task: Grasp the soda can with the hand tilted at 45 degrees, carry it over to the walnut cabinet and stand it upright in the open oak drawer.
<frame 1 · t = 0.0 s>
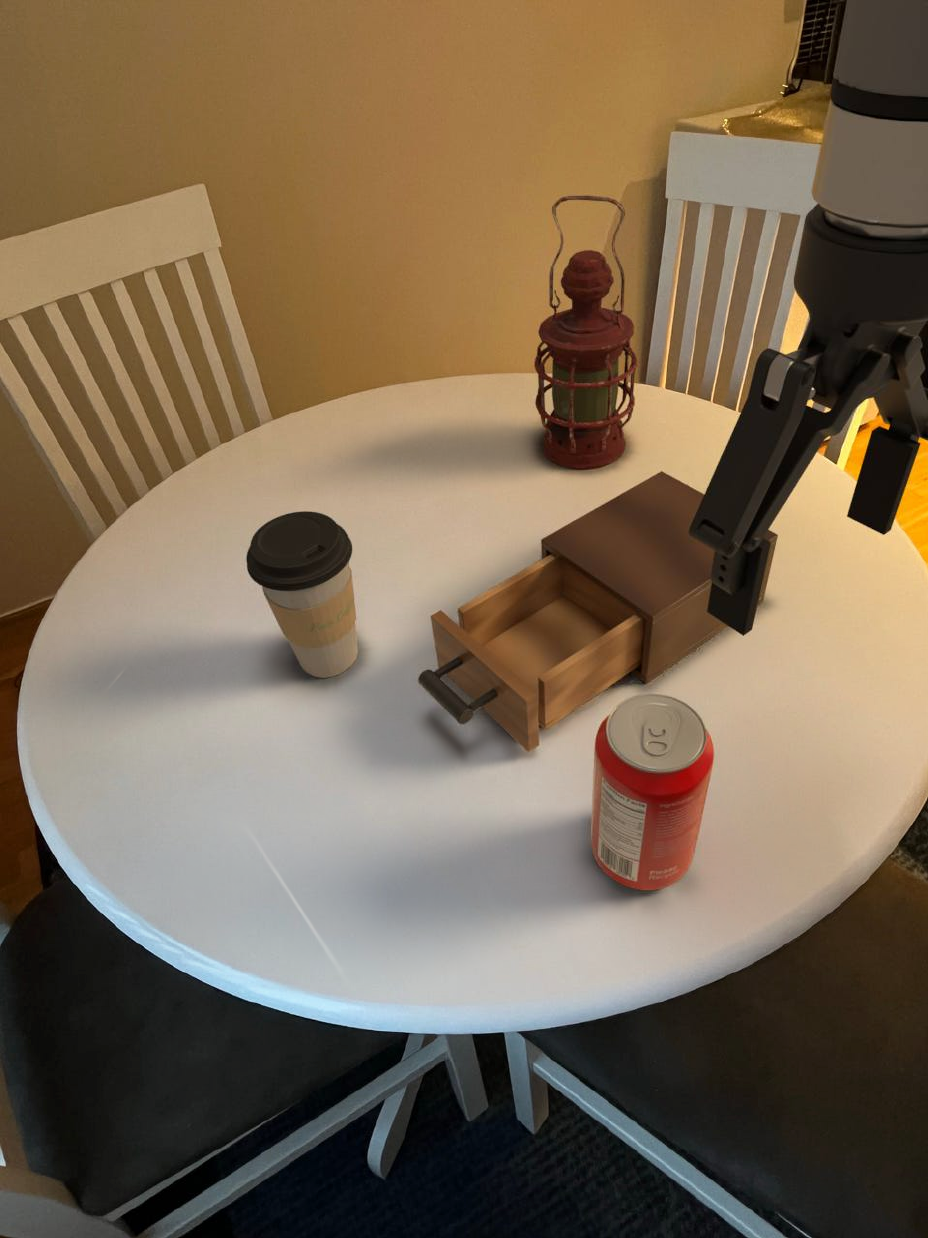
hand: (802, 570, 52), 24 cm above the table, tool pointing down, fingers open, 13 cm apart
coffee cup: (328, 657, 83), on the table
lantern: (583, 447, 106), on the table
soda can: (640, 851, 65), on the table
cabinet: (651, 603, 85), on the table
drawer: (526, 651, 75), point 4 cm above the table, slide at 12.5 cm
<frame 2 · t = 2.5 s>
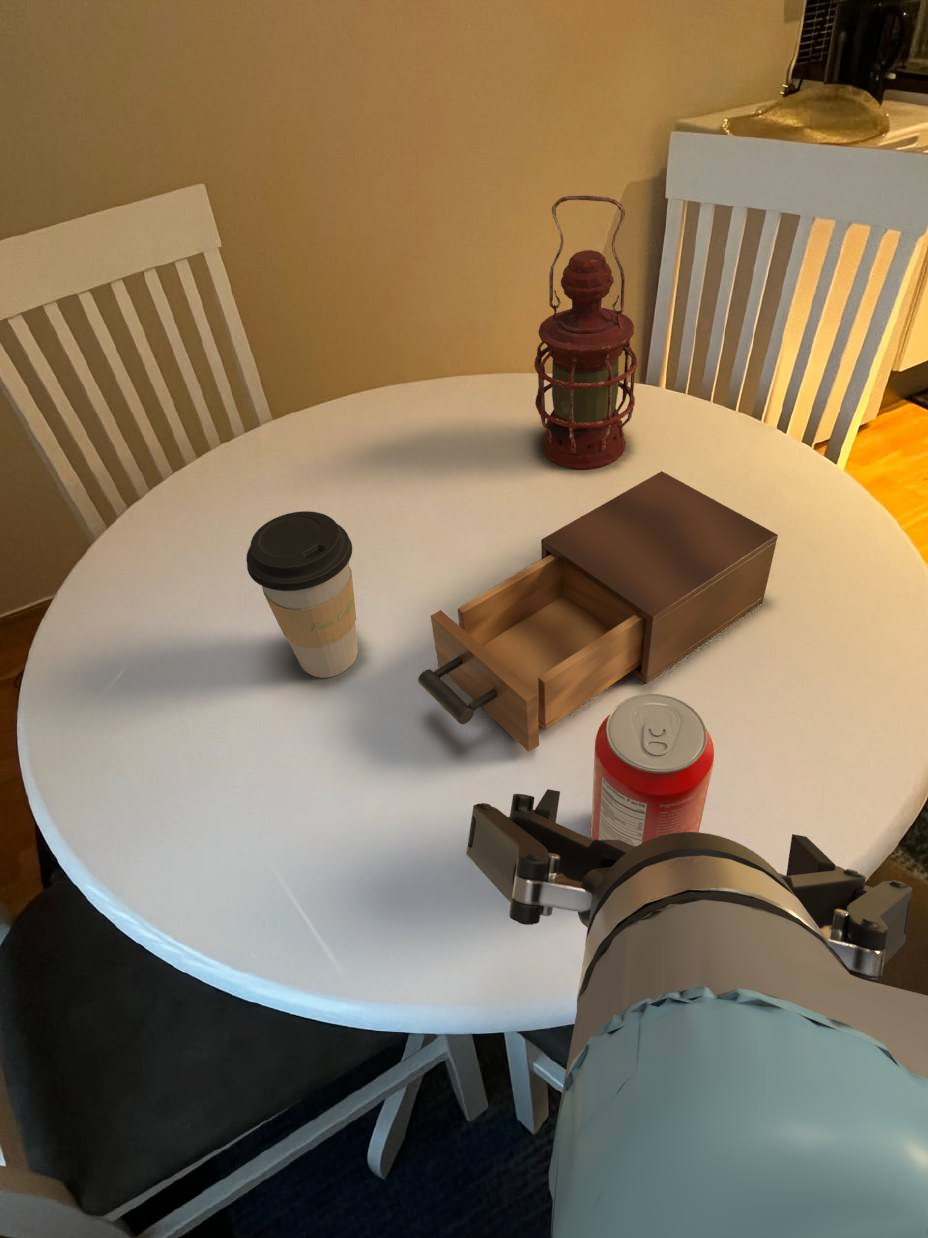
hand: (669, 835, 47), 17 cm above the table, tool tilted 45°, fingers open, 13 cm apart
nothing on the table moved.
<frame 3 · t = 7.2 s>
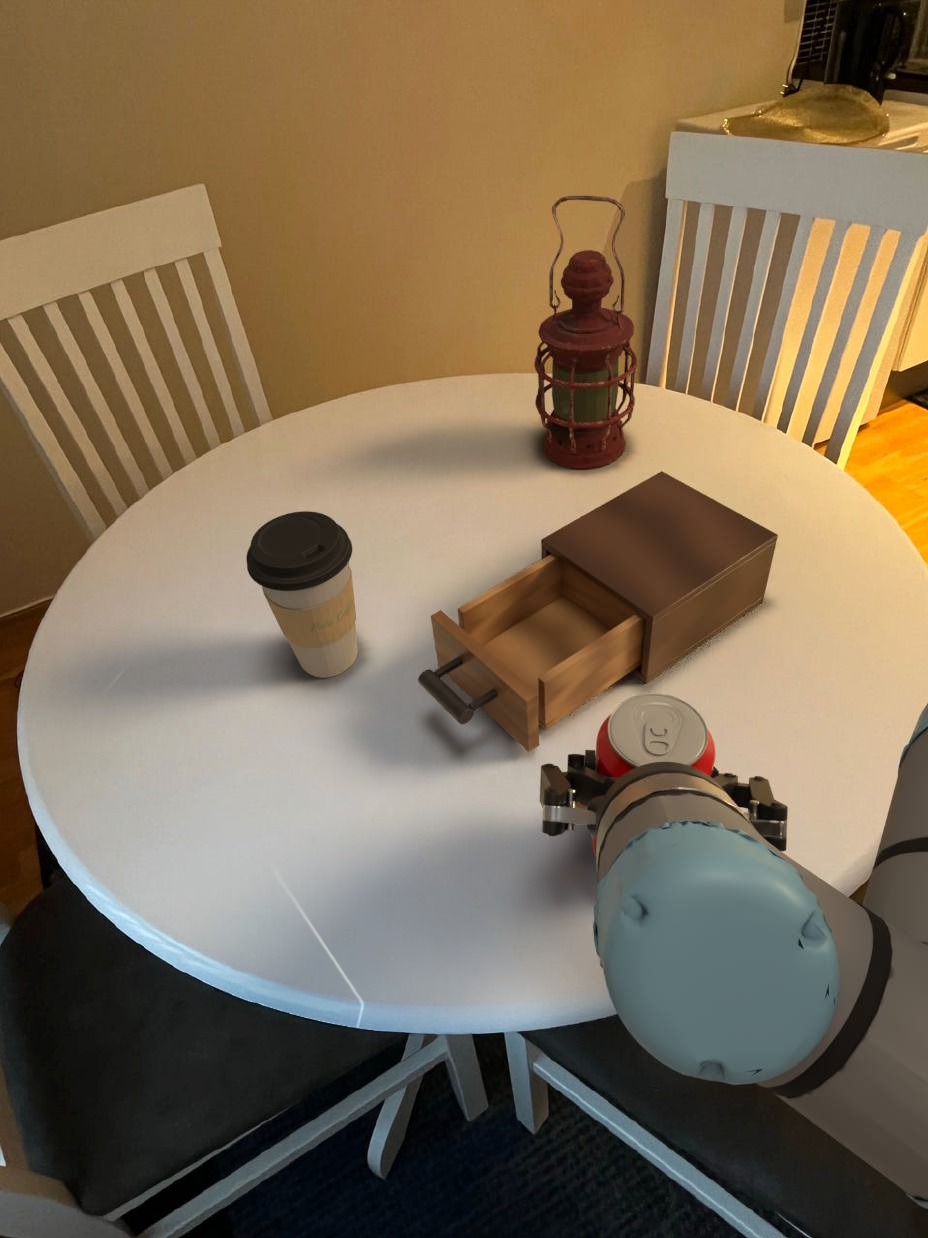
hand: (644, 771, 64), 6 cm above the table, tool tilted 45°, fingers closed on soda can, 8 cm apart
soda can: (641, 850, 65), on the table, touching gripper
everything else where it was.
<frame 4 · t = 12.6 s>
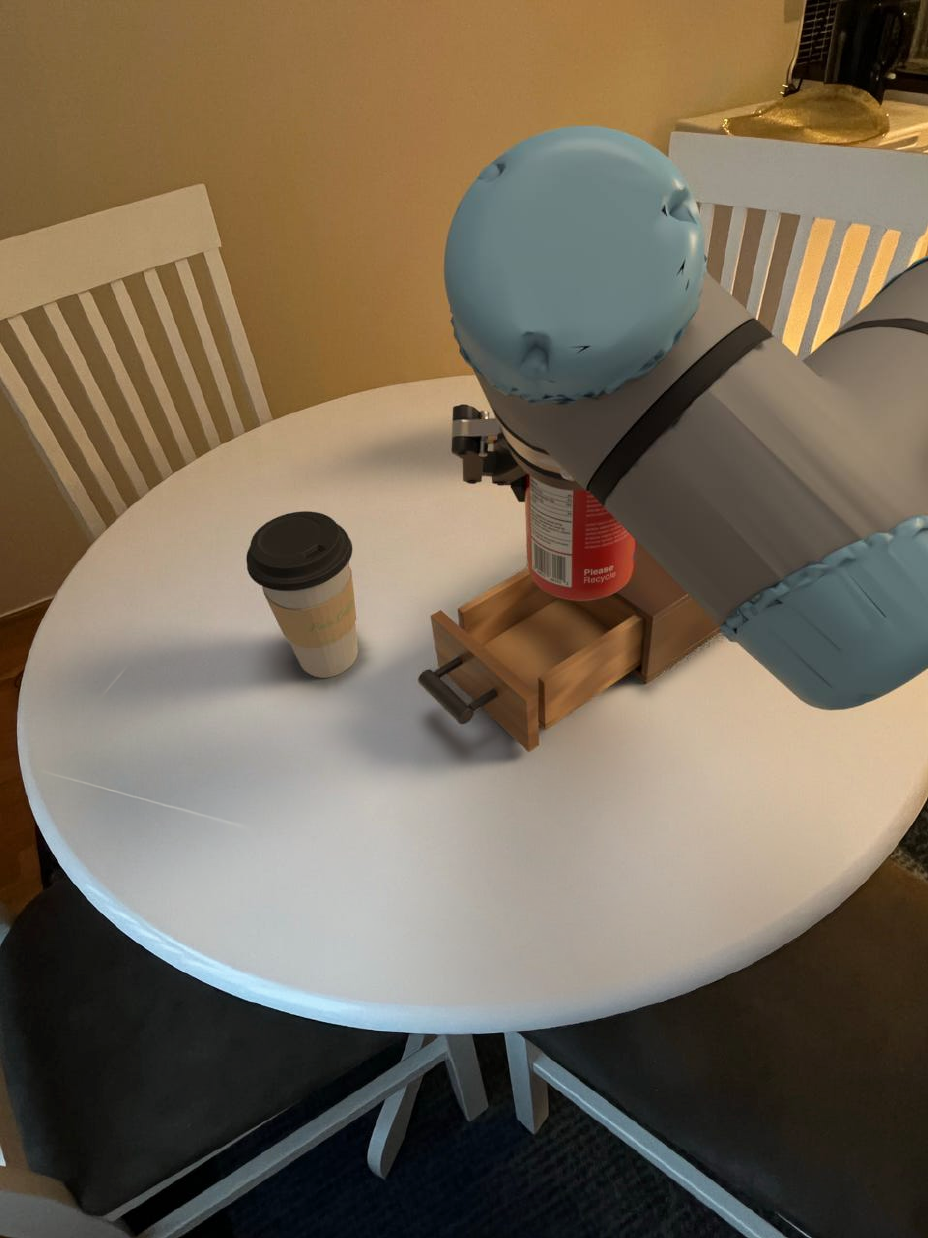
hand: (581, 484, 60), 24 cm above the table, tool tilted 45°, fingers closed on soda can, 8 cm apart
soda can: (580, 575, 62), point 18 cm above the table, touching gripper
everything else where it was.
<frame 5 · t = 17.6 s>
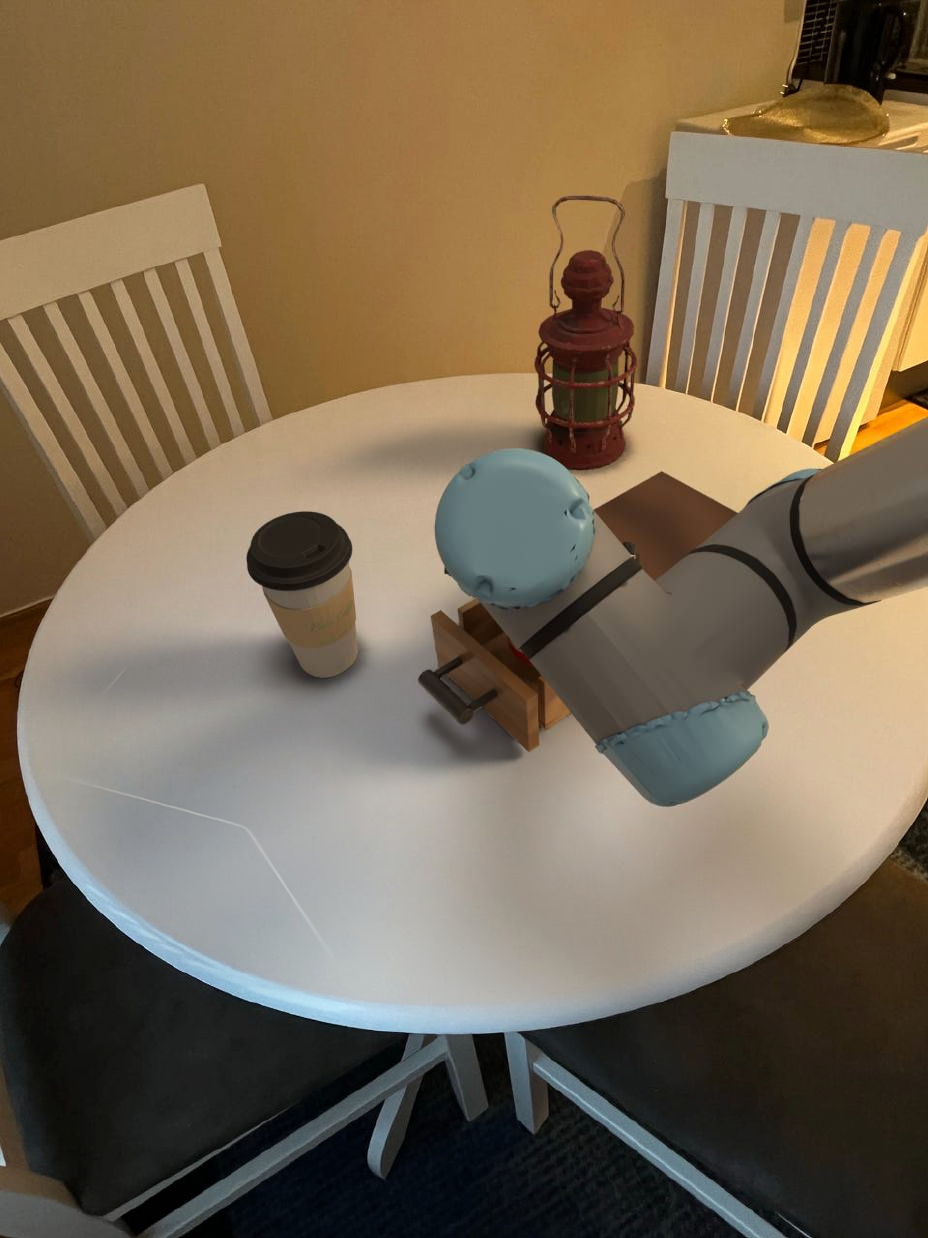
hand: (550, 573, 75), 9 cm above the table, tool tilted 45°, fingers closed on soda can, 8 cm apart
soda can: (549, 644, 77), point 3 cm above the table, touching gripper
everything else where it was.
when the fingers open (9 cm above the table, at t = 18.0 s): soda can drops 1 cm, resting on drawer.
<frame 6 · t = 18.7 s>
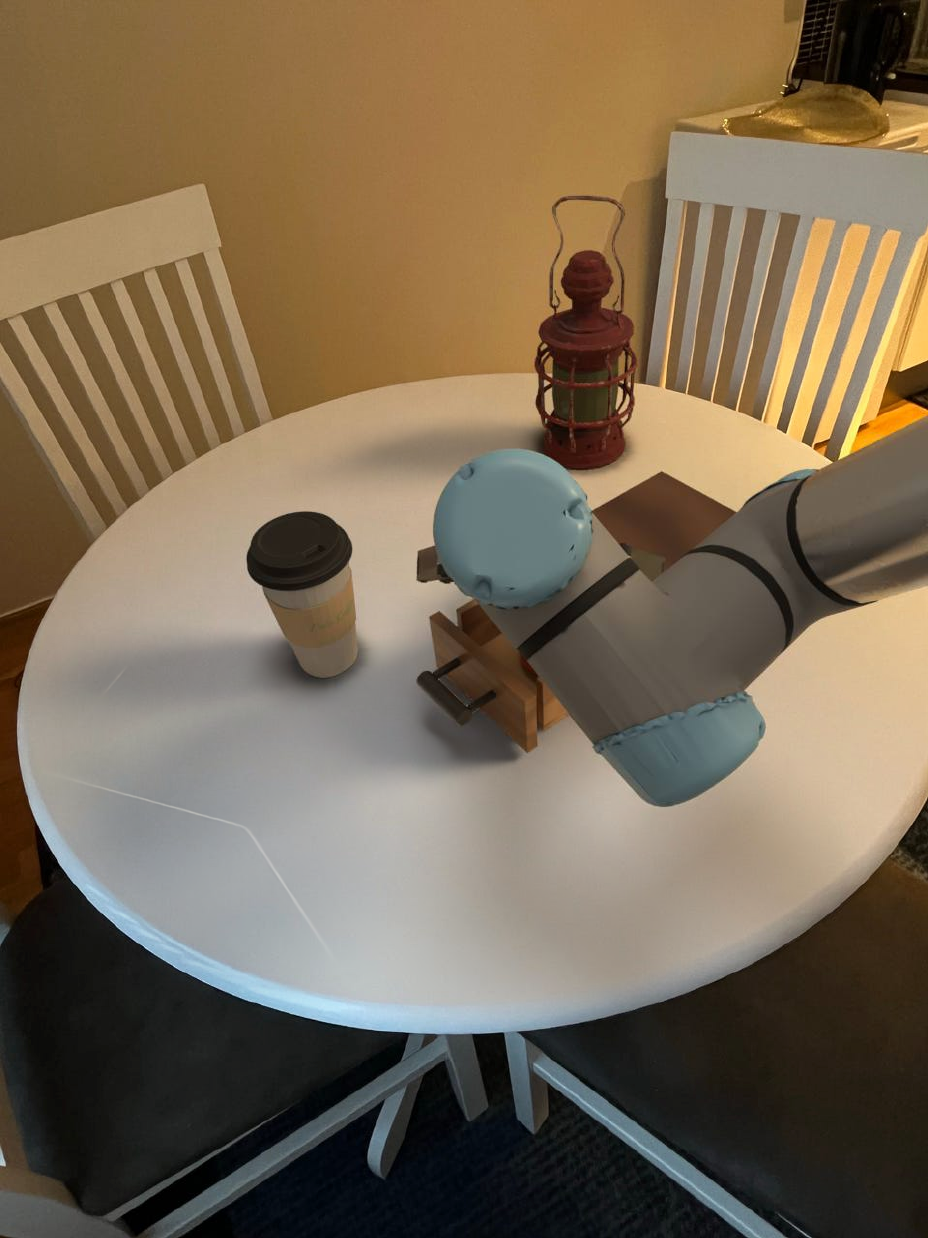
hand: (542, 575, 74), 10 cm above the table, tool tilted 45°, fingers open, 12 cm apart
soda can: (561, 659, 78), point 2 cm above the table, touching drawer
drawer: (525, 652, 75), point 4 cm above the table, slide at 12.7 cm, touching soda can
everything else where it was.
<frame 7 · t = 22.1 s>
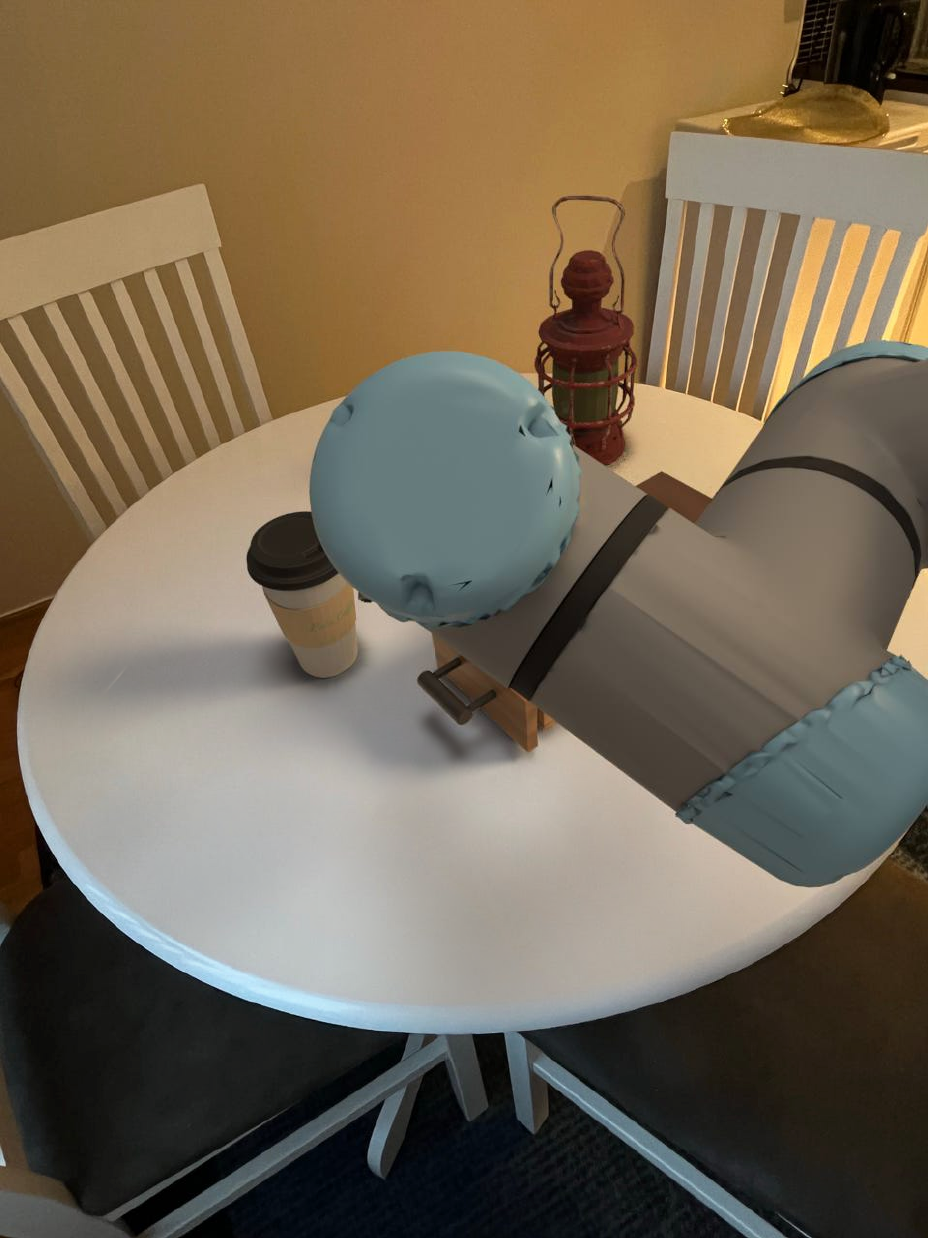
hand: (531, 594, 58), 20 cm above the table, tool tilted 45°, fingers open, 13 cm apart
nothing on the table moved.
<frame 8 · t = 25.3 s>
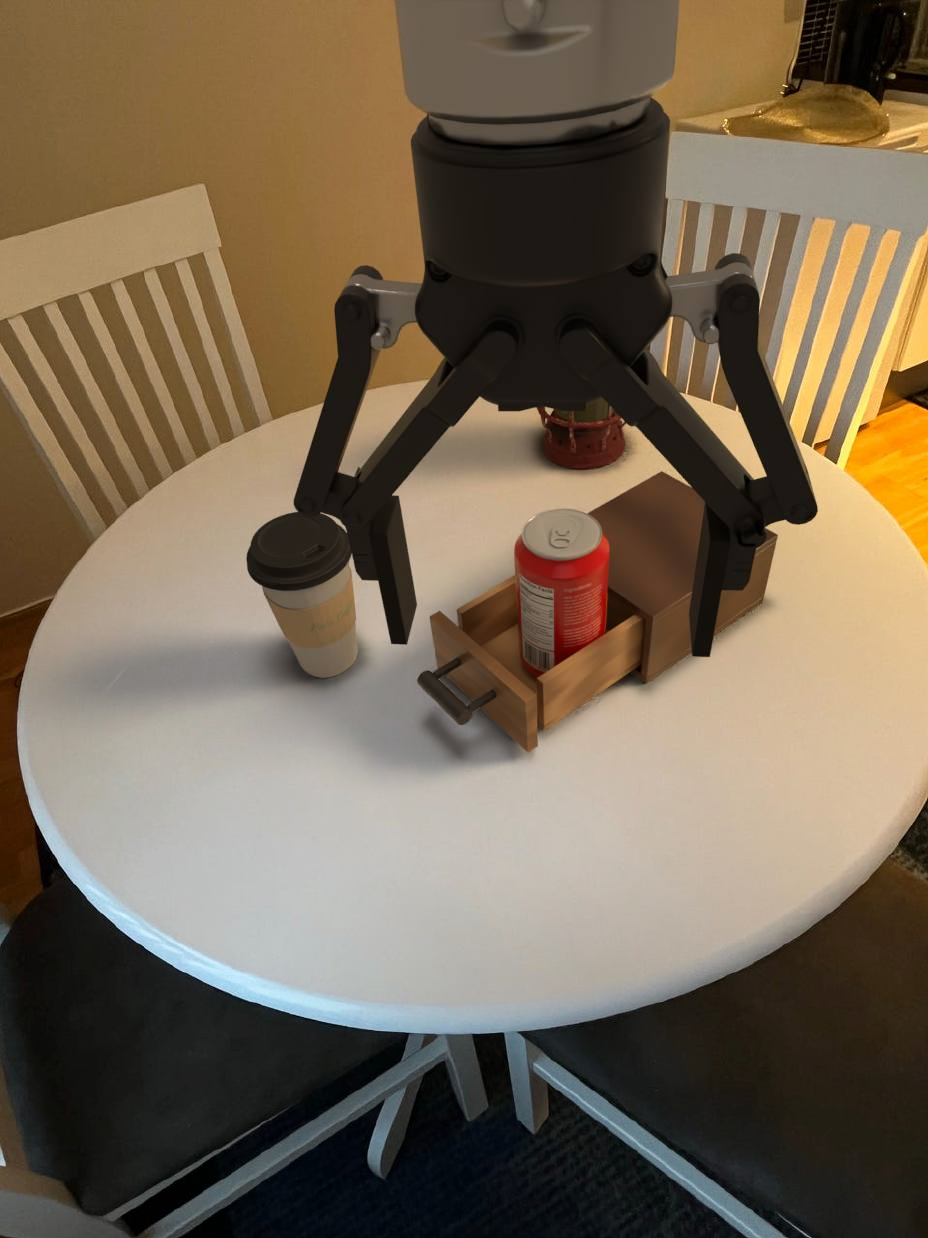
hand: (547, 630, 39), 32 cm above the table, tool pointing down, fingers open, 13 cm apart
nothing on the table moved.
at the end: soda can inside the target area in the drawer (1.4 cm from its centre), point 1.8 cm above the cabinet's base; soda can tilted 0°; the gripper is holding nothing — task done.
